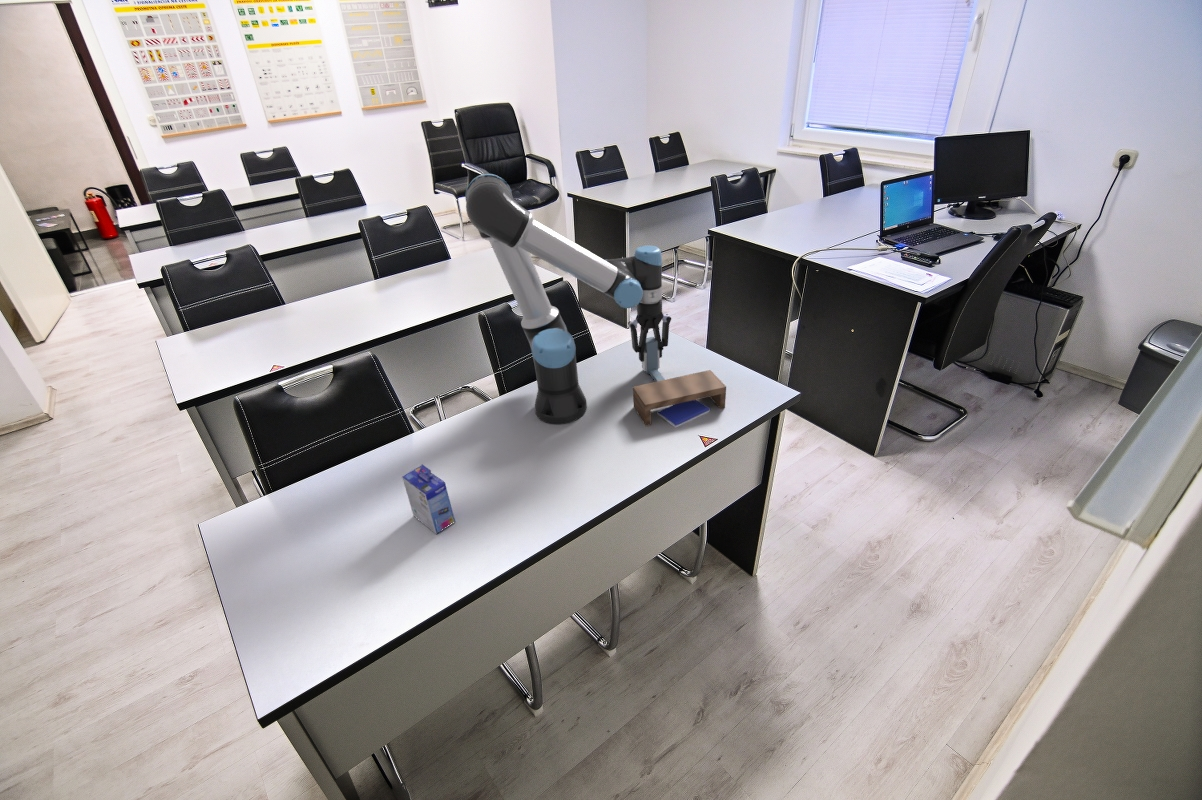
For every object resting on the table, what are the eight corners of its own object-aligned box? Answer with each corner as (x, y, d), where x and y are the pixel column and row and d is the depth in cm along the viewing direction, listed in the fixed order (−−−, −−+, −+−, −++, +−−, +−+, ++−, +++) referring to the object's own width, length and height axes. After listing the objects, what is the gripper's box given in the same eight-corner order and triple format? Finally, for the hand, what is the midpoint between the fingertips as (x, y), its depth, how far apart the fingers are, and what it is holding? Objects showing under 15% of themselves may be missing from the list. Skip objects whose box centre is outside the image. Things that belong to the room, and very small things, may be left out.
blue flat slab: (691, 396, 165) (657, 411, 160) (710, 408, 159) (675, 424, 154) (690, 400, 166) (657, 415, 160) (709, 412, 160) (675, 429, 155)
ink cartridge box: (457, 521, 129) (443, 473, 122) (437, 536, 126) (422, 487, 118) (433, 503, 135) (418, 456, 127) (413, 516, 132) (396, 468, 124)
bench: (645, 426, 156) (645, 405, 152) (633, 407, 164) (632, 386, 160) (724, 407, 161) (726, 386, 157) (709, 390, 169) (710, 369, 165)
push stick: (665, 398, 166) (665, 366, 160) (643, 369, 181) (642, 338, 175) (676, 396, 167) (677, 364, 161) (653, 367, 182) (653, 336, 176)
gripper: (626, 309, 162) (630, 378, 175) (680, 299, 166) (679, 368, 179) (618, 299, 168) (622, 367, 181) (670, 290, 172) (670, 357, 185)
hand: (650, 367), depth 180 cm, fingers closed on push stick, 3 cm apart
